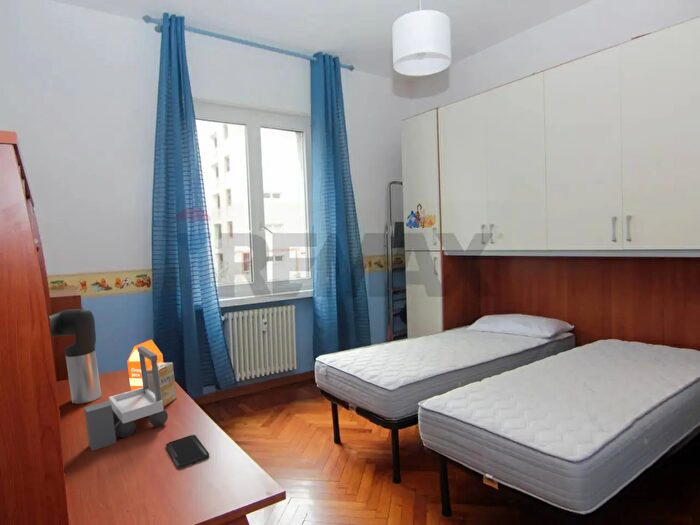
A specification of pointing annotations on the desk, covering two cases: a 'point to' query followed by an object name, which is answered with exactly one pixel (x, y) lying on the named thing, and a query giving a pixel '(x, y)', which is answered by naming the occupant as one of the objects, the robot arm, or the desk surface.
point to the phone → (187, 451)
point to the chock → (100, 425)
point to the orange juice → (135, 366)
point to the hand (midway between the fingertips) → (53, 430)
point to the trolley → (139, 400)
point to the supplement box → (164, 382)
